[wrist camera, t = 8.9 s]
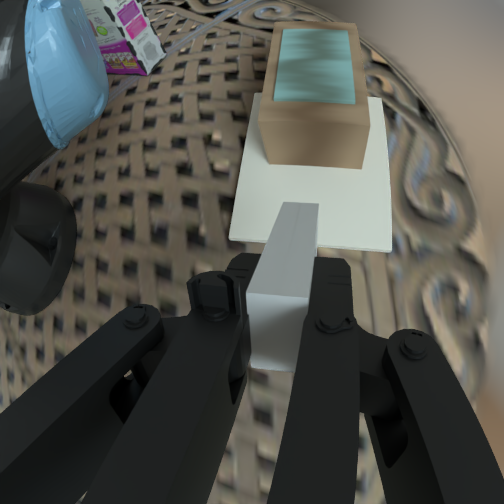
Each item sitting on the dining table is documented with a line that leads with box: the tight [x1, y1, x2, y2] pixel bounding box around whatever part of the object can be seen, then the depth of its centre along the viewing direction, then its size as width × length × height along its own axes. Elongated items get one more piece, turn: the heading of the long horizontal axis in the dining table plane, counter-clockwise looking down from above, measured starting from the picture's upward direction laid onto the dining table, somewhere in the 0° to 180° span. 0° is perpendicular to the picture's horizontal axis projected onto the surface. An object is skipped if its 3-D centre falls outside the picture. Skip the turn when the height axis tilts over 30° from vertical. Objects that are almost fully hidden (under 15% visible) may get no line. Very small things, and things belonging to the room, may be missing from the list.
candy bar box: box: [80, 0, 167, 76], centre depth 30 cm, size 11×5×16 cm, turn 64°
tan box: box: [258, 21, 370, 170], centre depth 25 cm, size 8×6×14 cm
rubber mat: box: [229, 93, 392, 253], centre depth 27 cm, size 13×16×1 cm
